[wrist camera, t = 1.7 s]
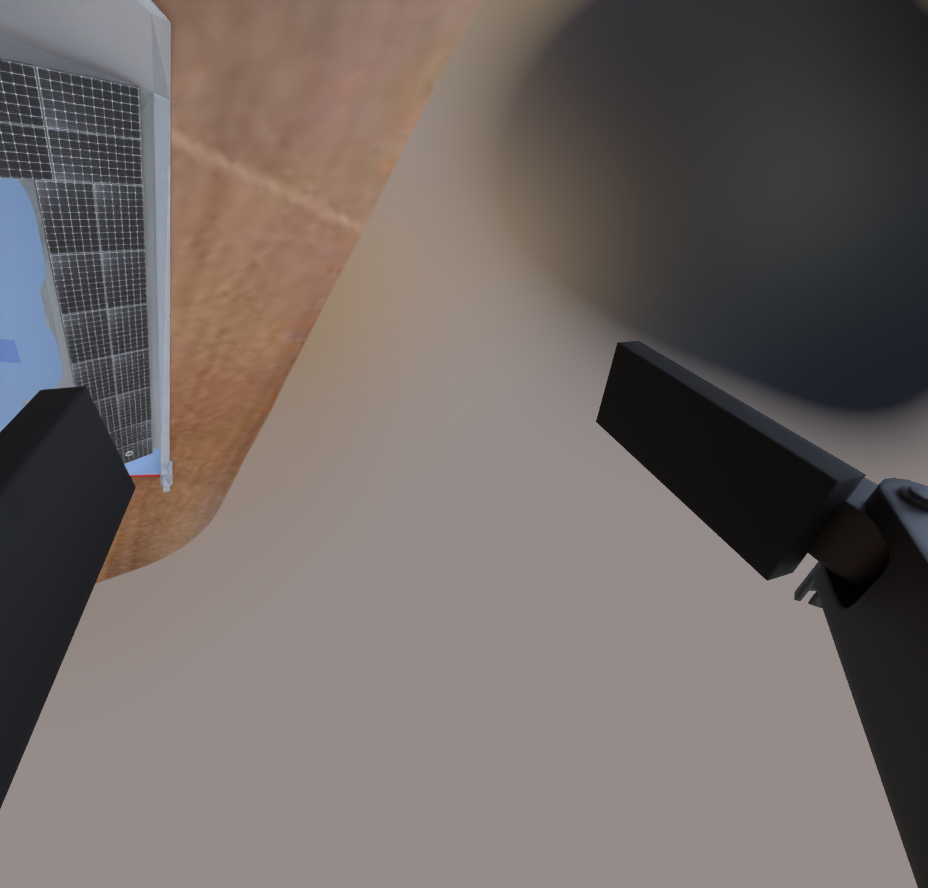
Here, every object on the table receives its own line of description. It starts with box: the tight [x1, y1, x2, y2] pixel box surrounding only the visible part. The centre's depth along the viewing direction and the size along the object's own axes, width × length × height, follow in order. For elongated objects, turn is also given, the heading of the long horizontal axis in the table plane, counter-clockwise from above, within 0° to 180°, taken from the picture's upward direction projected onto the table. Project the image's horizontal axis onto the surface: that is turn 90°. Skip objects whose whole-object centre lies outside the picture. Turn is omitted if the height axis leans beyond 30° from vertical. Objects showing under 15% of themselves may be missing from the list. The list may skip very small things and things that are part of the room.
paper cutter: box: [0, 0, 172, 492], centre depth 30 cm, size 18×45×6 cm, turn 152°
